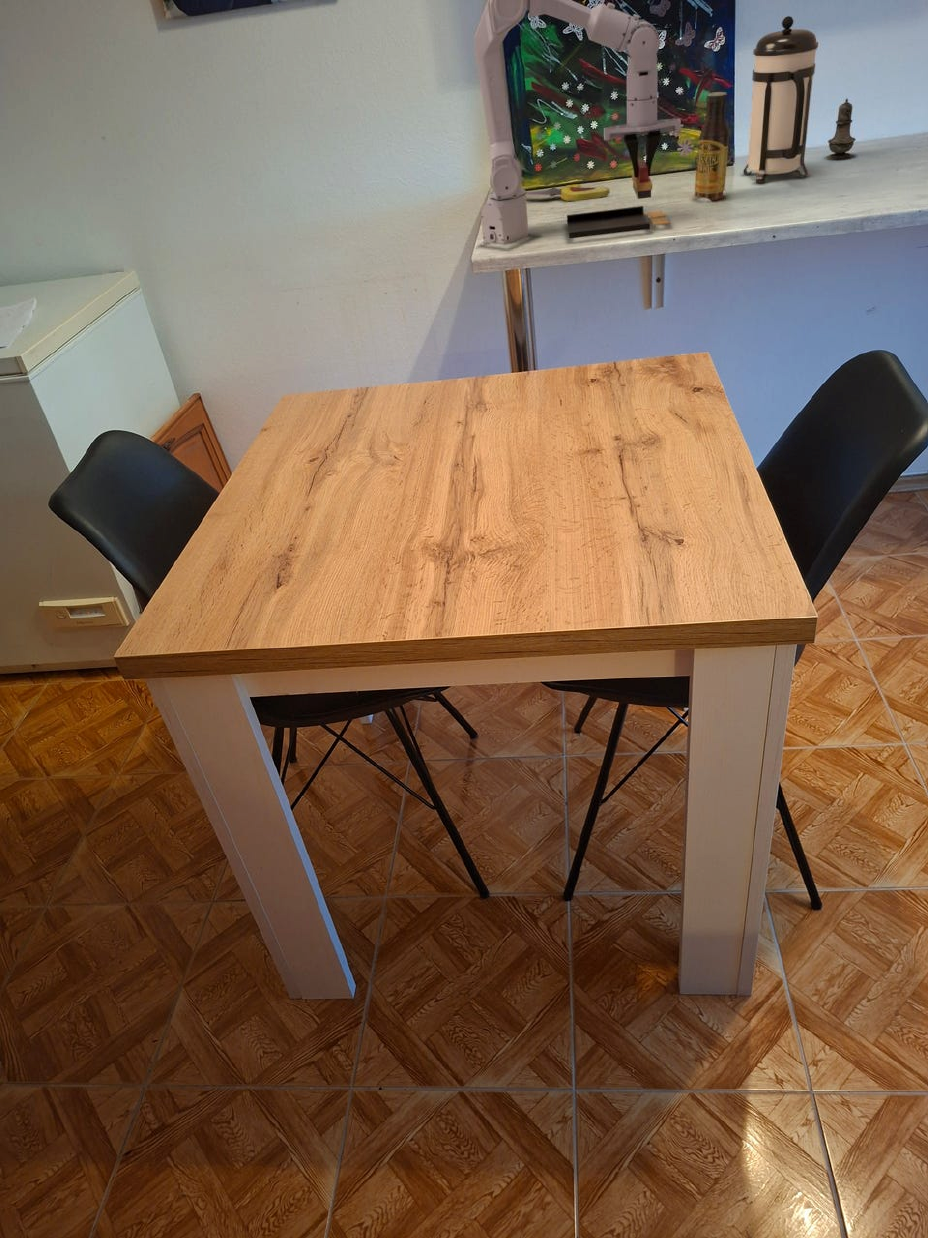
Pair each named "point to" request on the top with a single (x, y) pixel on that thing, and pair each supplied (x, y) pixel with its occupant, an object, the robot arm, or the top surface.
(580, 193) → the yellow scissors
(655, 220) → the cracker piece
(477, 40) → the robot arm
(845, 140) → the salt shaker
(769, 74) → the coffee press
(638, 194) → the brush
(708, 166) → the brown glass bottle
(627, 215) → the tray
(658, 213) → the cracker piece
